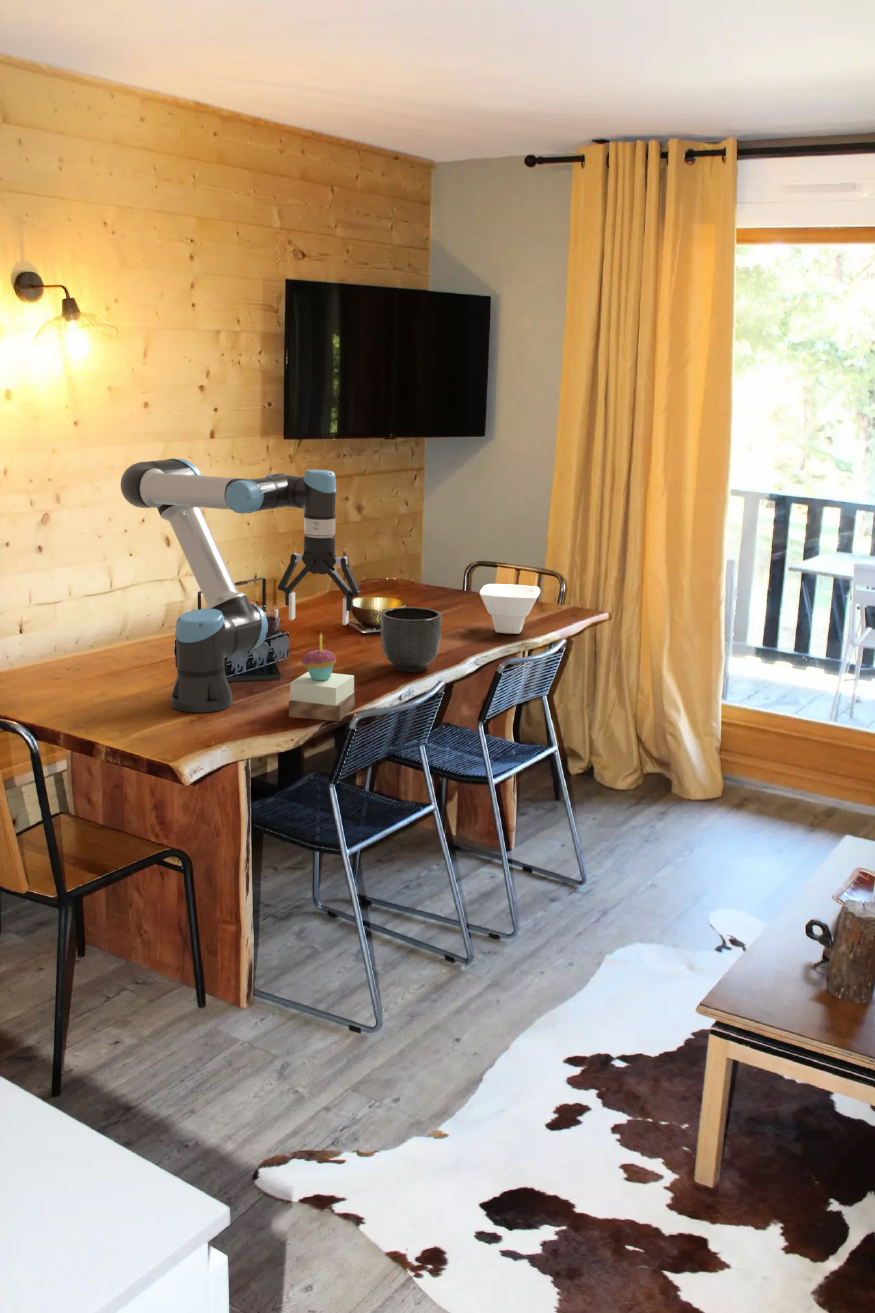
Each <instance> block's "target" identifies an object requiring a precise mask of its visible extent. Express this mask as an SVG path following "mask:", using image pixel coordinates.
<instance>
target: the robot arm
mask: <svg viewBox="0 0 875 1313" xmlns="http://www.w3.org/2000/svg"><path fill="white" fill-rule="evenodd" d="M336 481H337V480H336V474H335V472H334V471H332V470H329V469H319V468H318V469H317V468H316V469H307V470H305V472H304V473H303V476H298V475H297V476H295V475H290V474H284V473H270V474H268V475H266V476H265V477H261V478H238V477H237V478H236V477H225V476H223V477H222V476H207V475H202V472H201V471H200V470H199V468H198V467H197V466H196V465H195V464H194V463H192V462H191V461H188V460H186V459H184V458H183V459H182V458H167V459H161V460H160V459H159V460H151V461H150V460H148V461H140V462H136V463H133V464H131V465H130V466H129V467H127V468H126V469H125V471H124V472H123V474H122V476H121V478H120V491H121V495H122V496H123V498H124V499H125V500H126V501H127V503H129V504H130V505H132V506H134V507H136V508H140V509H141V508H142V509H148V508H149V509H150V508H152V509H153V508H155V509H157V511H158V513H159V516H160V518H161V519H163V520H165V521H168V522H169V524H170V525H171V528H172V530H173V532H174V534H175V536H176V539H177V541H178V543H179V545H180V547H181V550H182V552H183V555H184V556H185V558H186V561H187V563H188V565H189V567H190V570H191V572H192V574H193V576H194V578H195V582H196V583H197V585H198V587H199V590H200V592H201V593H202V596H203V598H204V601H205V603H206V607H205V608H200V609H191V610H189V611H187V612H184V613H182V614H181V615H180V616H179V617H178V618H177V619H176V623H175V632H174V633H175V634H174V637H175V647H176V648H175V650H176V652H175V653H176V666H177V667H176V669H177V671H176V672H177V673H176V674H177V676H176V680H175V683H174V686H173V688H172V693H171V695H170V700H171V701H170V704H171V707H172V709H175V710H177V711H180V712H184V713H185V712H186V713H197V714H198V713H210V712H211V713H213V712H219V711H222V710H225V709H228V708H229V707H231V706H232V704H233V693H232V690H231V687H230V685H229V682H228V679H227V676H226V673H225V672H226V671H225V670H226V667H225V664H226V663H225V658H230V657H232V656H235V655H239V654H242V653H243V654H244V653H249V652H251V651H252V650H254V649H256V648H257V649H258V647H260V646H261V645H263V643H264V642H265V640H266V637H267V634H268V628H269V623H268V620H267V616H266V613H265V612H264V610H263V609H262V608H261V607H260V606H258V605H256V604H252V603H250V600H249V598H248V595H247V594H245V593H243V592H240V591H239V590H238V588H237V586H236V584H235V582H234V579H233V577H232V575H231V573H230V571H229V569H228V566H227V564H226V562H225V560H224V557H223V555H222V554H221V551H220V549H219V547H218V544H217V542H216V540H215V538H214V536H213V533H212V531H211V529H210V527H209V525H208V522H207V520H206V518H205V516H204V514H203V512H202V509H201V508H206V509H207V508H208V509H219V510H232V512H234V513H237V514H253V513H254V512H261V511H266V510H273V509H279V508H281V509H282V508H298V509H301V510H302V509H303V533H304V534H305V535H304V537H303V554H299V553H298V552H294V553H292V554H291V555H290V560H289V564H288V566H287V568H286V570H285V572H284V573H283V575H282V577H281V580H280V582H279V584H278V586H277V590H278V591H282V592H284V594H285V596H284V599H285V600H284V601H285V603H284V604H285V606H287V607H288V620H289V621H293V620H295V619H296V592H295V591H293V590H294V589H295V588H296V587H297V586H298V584H300V582H301V581H302V580H303V579H304V578H305V577H306V575H308V574H309V573H311V574H313V575H316V574H319V575H326V574H327V575H328V576H329V577H330V578H331V579H332V581H333V583H335V585H337V587H338V588H339V589H340V590H341V593H342V594H343V595H344V597H342V625H343V626H346V625H347V624H349V622H350V621H349V618H350V617H349V616H350V615H349V612H351V611H352V610H353V607H354V604H353V603H354V597H358V596H359V595H360V594H361V592H362V591H361V589H360V587H359V585H358V583H357V582H358V581H356V578H355V576H354V574H353V571H352V570H351V568H350V565H349V558H348V555H344V556H343V557H342V556H341V557H338V556H336V537H335V534H336V502H337V501H336V500H337V499H336V498H337V497H336V496H337V485H336V484H337V482H336ZM301 561H302V563H303V565H304V567H303V569H302V570H301V571H300V572H299V573H298V574H297V575H296V576H295V578H293V580H292V581H291V582H290V583H289V585H288V582H289V581H290V579H291V577H292V575H293V574H294V571H295V569H296V567H297V564H299V563H300V562H301ZM336 563H337V564H338V566H340V567H341V571H342V573H343V576H344V578H345V579H346V582H347V583H346V582H345V580H344V579H343V578H342V576H341V575H340V573H339V572H338V570H337V569H336V567H335V564H336Z"/></svg>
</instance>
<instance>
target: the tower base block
mask: <svg viewBox="0 0 875 1313" xmlns="http://www.w3.org/2000/svg"><path fill="white" fill-rule="evenodd" d="M355 692H356V691H355V690H354V693H353V694H351V695H350V696H349V697H347V698H346V699H345V700H343V701H342V702H340V703H339V704H338V705H336V706H333V705H325V704H317V703H308V702H300V701H292V700H290V699H289V701H288V717H289V718H300V719H307V720H308V719H309V720H310V719H312V720H321V721H332V722H341V721H342V720H343V719H344V718H345V717H346V716H347V715H348V713H350V712H351V710H352V709H353V708H354V707H355V702H356V701H355V700H356V699H355Z"/></svg>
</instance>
